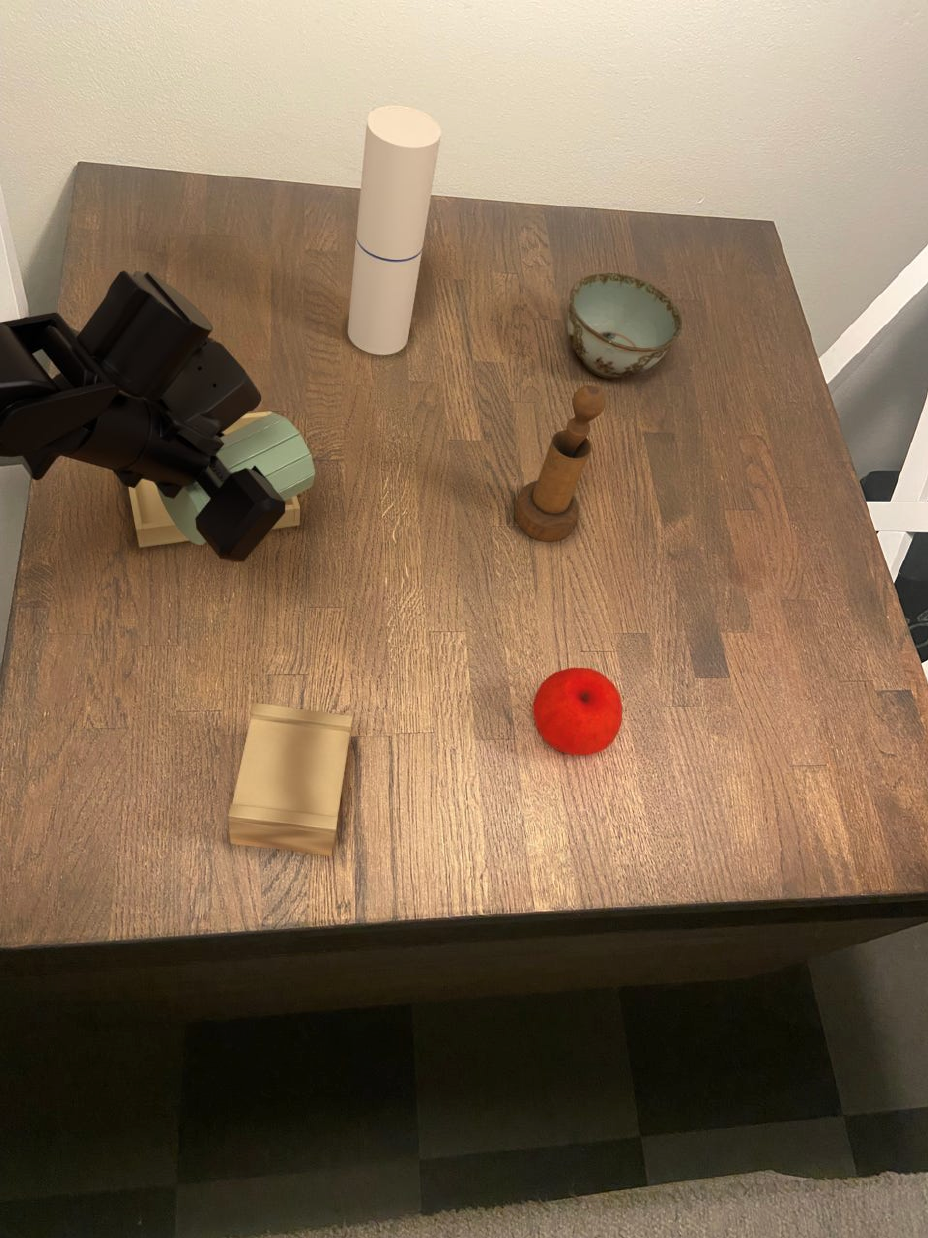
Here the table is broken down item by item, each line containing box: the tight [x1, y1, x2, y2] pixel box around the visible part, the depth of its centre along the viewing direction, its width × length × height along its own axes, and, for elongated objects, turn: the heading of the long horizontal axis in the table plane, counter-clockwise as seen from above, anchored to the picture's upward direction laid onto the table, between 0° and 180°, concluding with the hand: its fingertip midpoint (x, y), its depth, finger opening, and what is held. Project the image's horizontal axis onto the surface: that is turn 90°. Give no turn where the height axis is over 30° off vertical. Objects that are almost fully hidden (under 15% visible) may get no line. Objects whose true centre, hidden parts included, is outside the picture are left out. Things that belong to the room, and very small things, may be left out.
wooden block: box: [227, 701, 354, 857], centre depth 73 cm, size 8×10×6 cm
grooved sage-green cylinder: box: [157, 412, 316, 546], centre depth 77 cm, size 11×7×7 cm, turn 134°
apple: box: [532, 667, 624, 756], centre depth 80 cm, size 8×8×7 cm
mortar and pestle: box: [513, 384, 606, 543], centre depth 90 cm, size 7×6×18 cm
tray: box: [127, 410, 301, 548], centre depth 90 cm, size 15×13×3 cm
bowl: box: [566, 272, 683, 379], centre depth 110 cm, size 14×13×8 cm
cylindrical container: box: [347, 105, 442, 356], centre depth 98 cm, size 7×7×25 cm
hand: (255, 476), depth 78 cm, fingers closed on grooved sage-green cylinder, 7 cm apart
